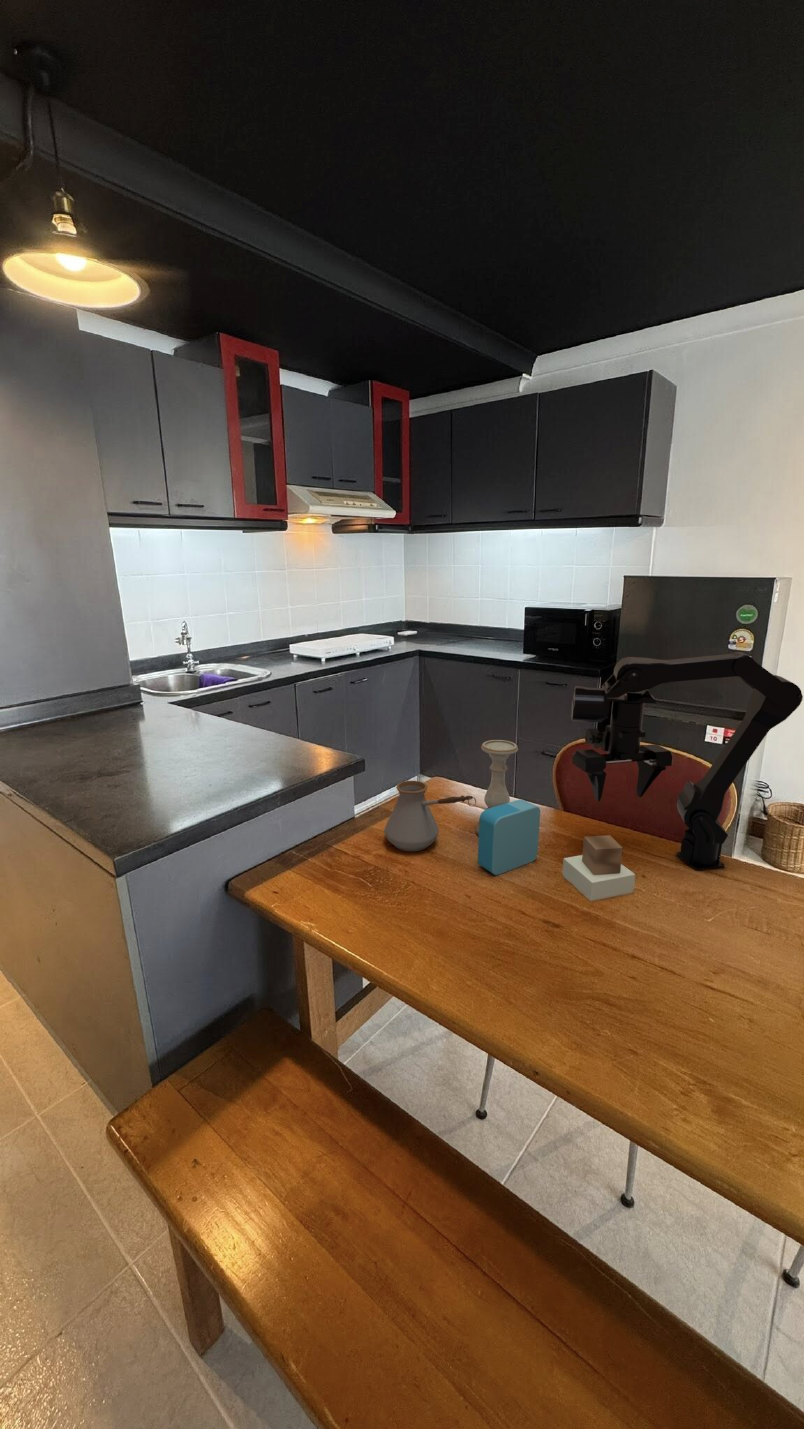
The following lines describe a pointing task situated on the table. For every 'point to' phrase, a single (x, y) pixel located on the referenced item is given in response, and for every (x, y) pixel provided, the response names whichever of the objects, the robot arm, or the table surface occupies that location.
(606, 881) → the base block
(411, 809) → the coffee pot
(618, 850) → the walnut cube
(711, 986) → the table surface
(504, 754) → the candle holder
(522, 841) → the blue rounded slab
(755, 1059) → the table surface
